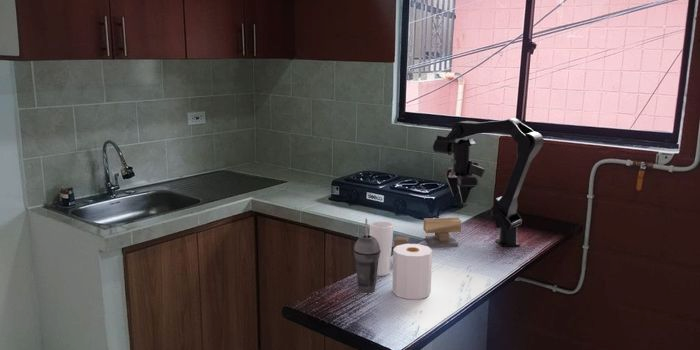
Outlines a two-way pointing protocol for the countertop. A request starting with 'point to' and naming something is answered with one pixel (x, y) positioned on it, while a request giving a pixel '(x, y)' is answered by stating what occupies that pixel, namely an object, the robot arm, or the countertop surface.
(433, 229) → the oak bar
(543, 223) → the countertop surface
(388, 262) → the drinking glass
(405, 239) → the wooden block
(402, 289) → the toilet paper
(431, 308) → the countertop surface
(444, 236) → the balance stand
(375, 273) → the beverage cup
